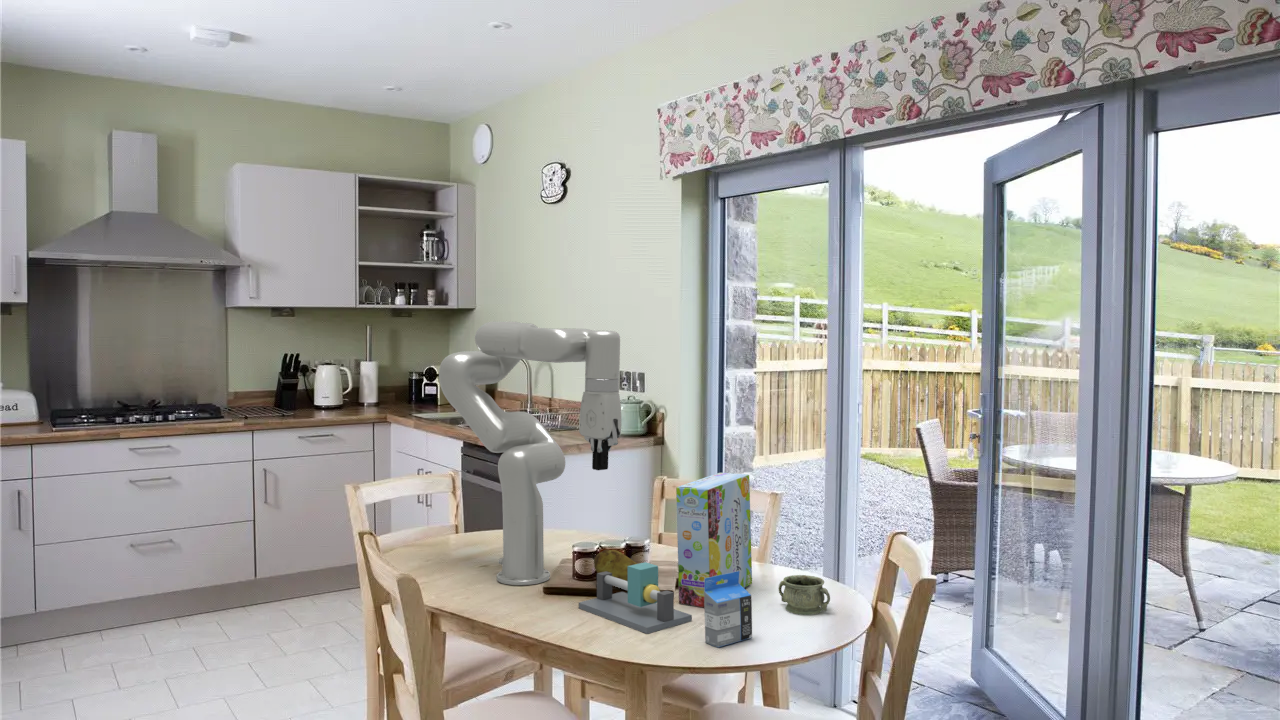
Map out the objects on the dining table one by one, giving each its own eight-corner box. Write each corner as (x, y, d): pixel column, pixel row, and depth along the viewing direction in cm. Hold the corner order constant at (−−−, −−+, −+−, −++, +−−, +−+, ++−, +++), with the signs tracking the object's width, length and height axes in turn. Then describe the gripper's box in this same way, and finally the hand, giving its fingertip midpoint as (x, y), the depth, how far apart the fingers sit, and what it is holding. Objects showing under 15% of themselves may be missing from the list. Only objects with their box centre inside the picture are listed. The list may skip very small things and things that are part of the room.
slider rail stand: (578, 608, 191) (578, 573, 191) (622, 597, 199) (622, 564, 199) (647, 633, 175) (646, 596, 174) (691, 620, 182) (691, 584, 182)
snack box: (719, 580, 213) (719, 471, 212) (753, 585, 208) (753, 474, 207) (674, 604, 194) (674, 484, 193) (711, 610, 190) (711, 488, 189)
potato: (625, 595, 200) (625, 560, 200) (588, 584, 209) (588, 550, 209) (652, 588, 206) (652, 553, 206) (614, 577, 215) (614, 544, 215)
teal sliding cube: (627, 602, 184) (627, 566, 184) (645, 598, 188) (645, 562, 187) (640, 607, 181) (640, 569, 181) (658, 602, 185) (658, 565, 184)
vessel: (768, 609, 190) (768, 579, 190) (788, 599, 197) (788, 571, 197) (820, 620, 183) (820, 589, 182) (839, 609, 190) (839, 580, 189)
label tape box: (717, 648, 166) (717, 582, 166) (703, 642, 170) (703, 577, 169) (752, 639, 172) (752, 574, 171) (738, 633, 175) (738, 570, 174)
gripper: (568, 384, 202) (566, 466, 203) (609, 389, 191) (607, 476, 192) (595, 383, 207) (593, 463, 208) (636, 388, 196) (634, 472, 196)
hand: (600, 469), depth 200 cm, fingers closed
